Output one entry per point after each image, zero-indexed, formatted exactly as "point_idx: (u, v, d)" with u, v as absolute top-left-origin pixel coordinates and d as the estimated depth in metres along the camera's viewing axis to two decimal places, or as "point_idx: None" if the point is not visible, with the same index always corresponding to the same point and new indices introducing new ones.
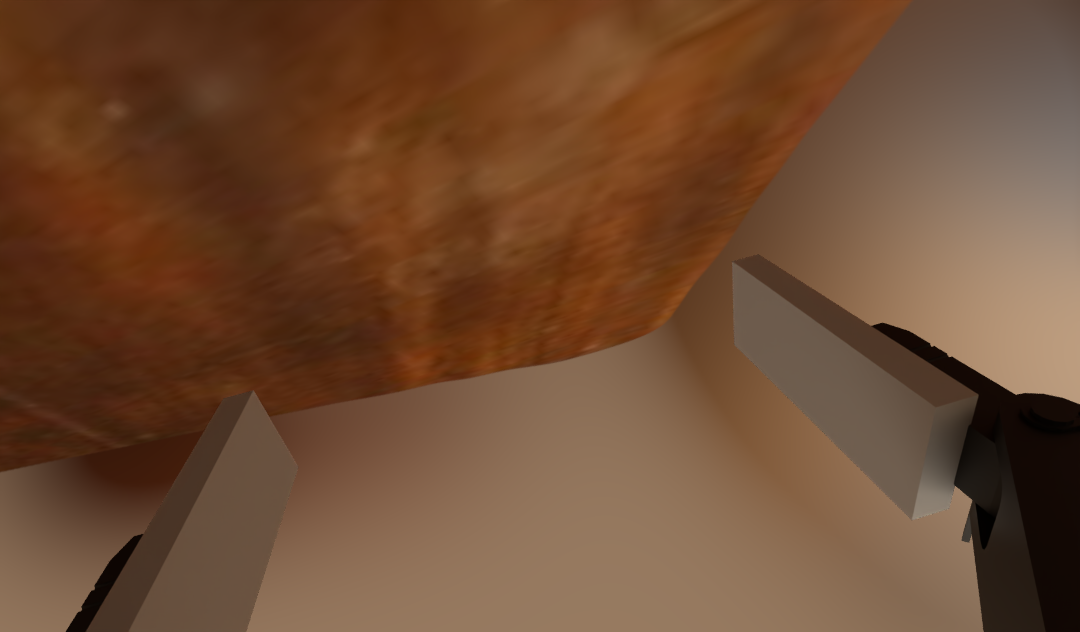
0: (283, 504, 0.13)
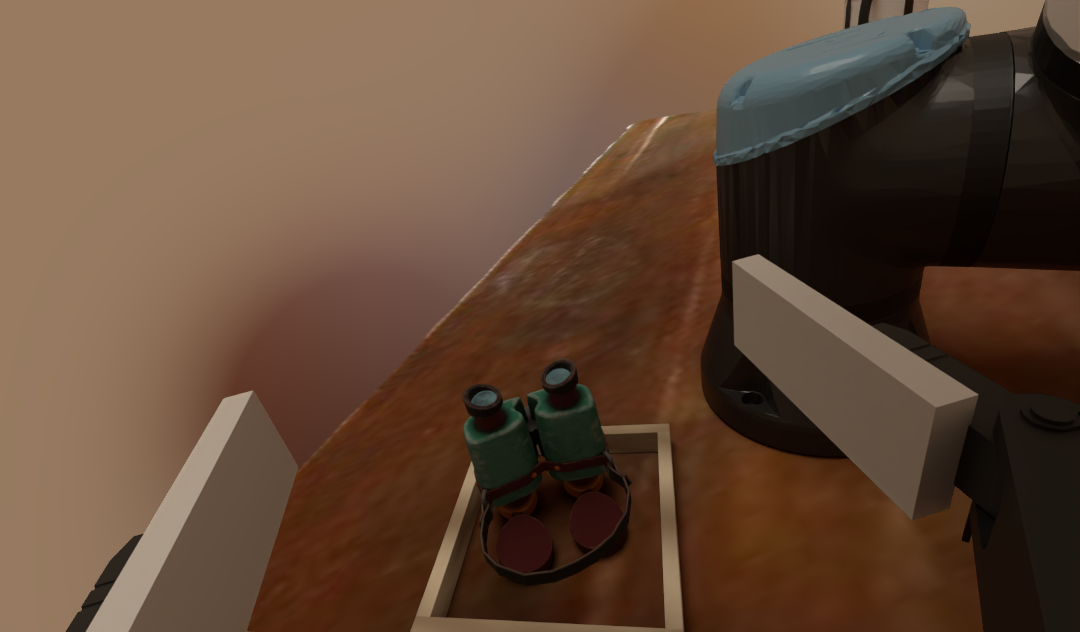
0: (283, 504, 0.13)
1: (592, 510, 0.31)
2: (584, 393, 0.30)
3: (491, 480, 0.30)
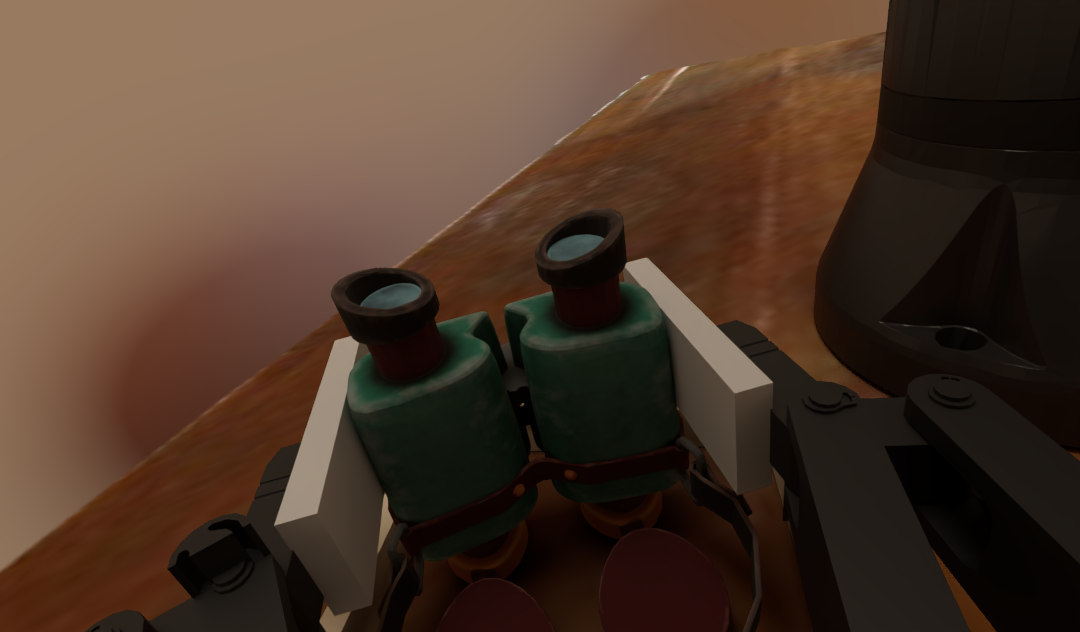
0: None
1: (651, 572, 0.14)
2: (638, 298, 0.13)
3: (416, 503, 0.13)
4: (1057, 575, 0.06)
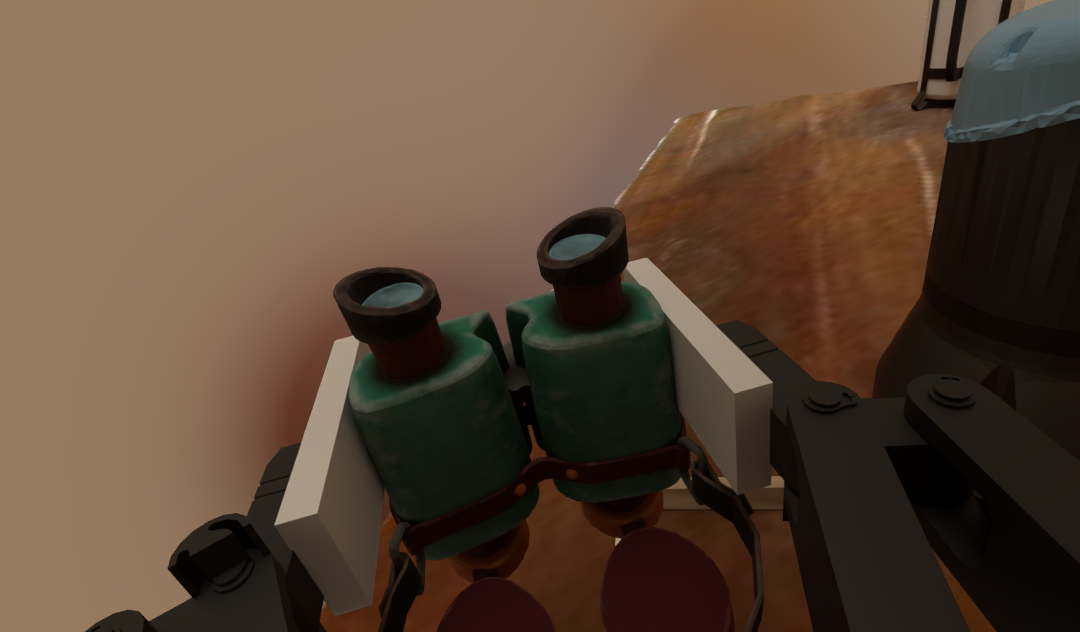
0: None
1: (652, 572, 0.14)
2: (640, 297, 0.13)
3: (418, 502, 0.13)
4: (1057, 575, 0.06)
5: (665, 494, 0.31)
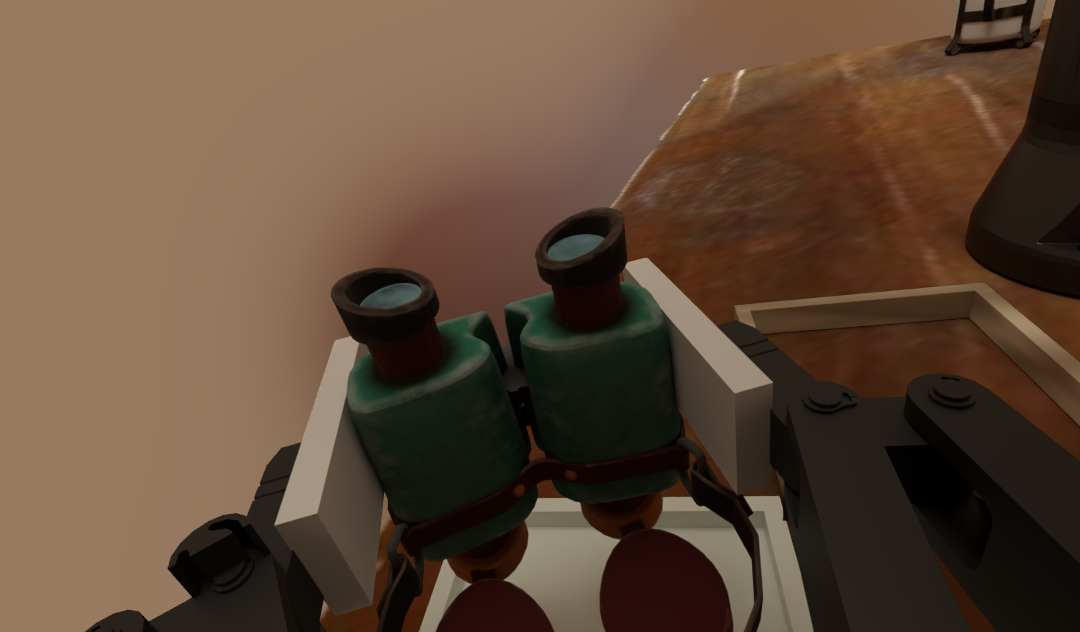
0: None
1: (651, 573, 0.14)
2: (638, 298, 0.13)
3: (416, 503, 0.13)
4: (1057, 575, 0.06)
5: (783, 314, 0.32)
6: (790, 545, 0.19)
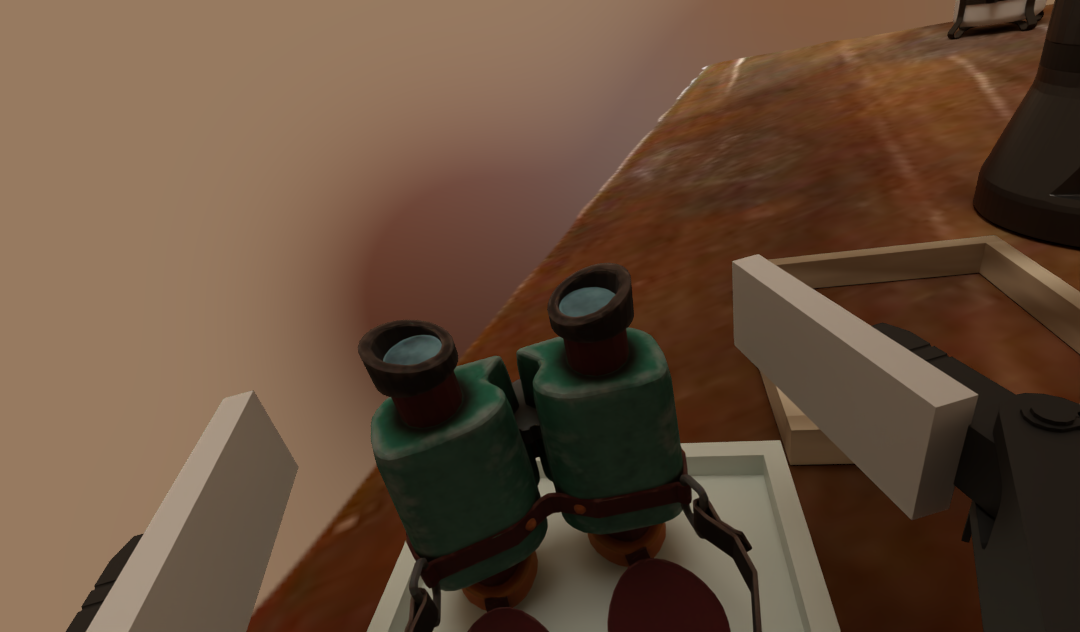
0: (283, 504, 0.13)
1: (656, 602, 0.14)
2: (644, 345, 0.14)
3: (435, 540, 0.14)
4: None
5: None
6: (792, 487, 0.17)
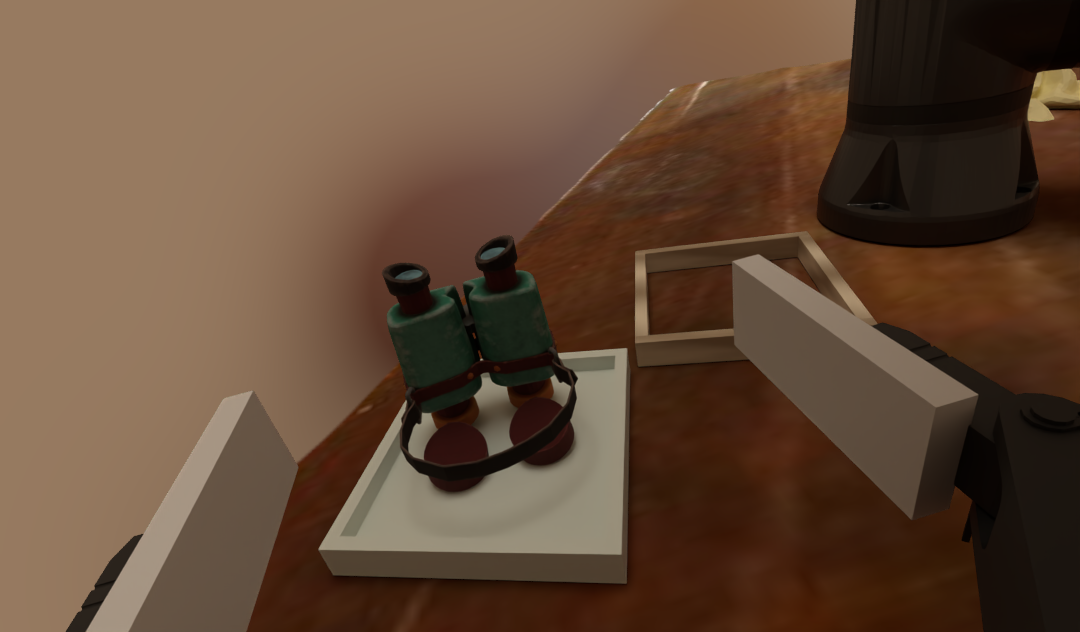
0: (283, 504, 0.13)
1: (535, 415, 0.28)
2: (526, 277, 0.27)
3: (419, 377, 0.27)
4: None
5: (668, 256, 0.44)
6: (625, 369, 0.31)
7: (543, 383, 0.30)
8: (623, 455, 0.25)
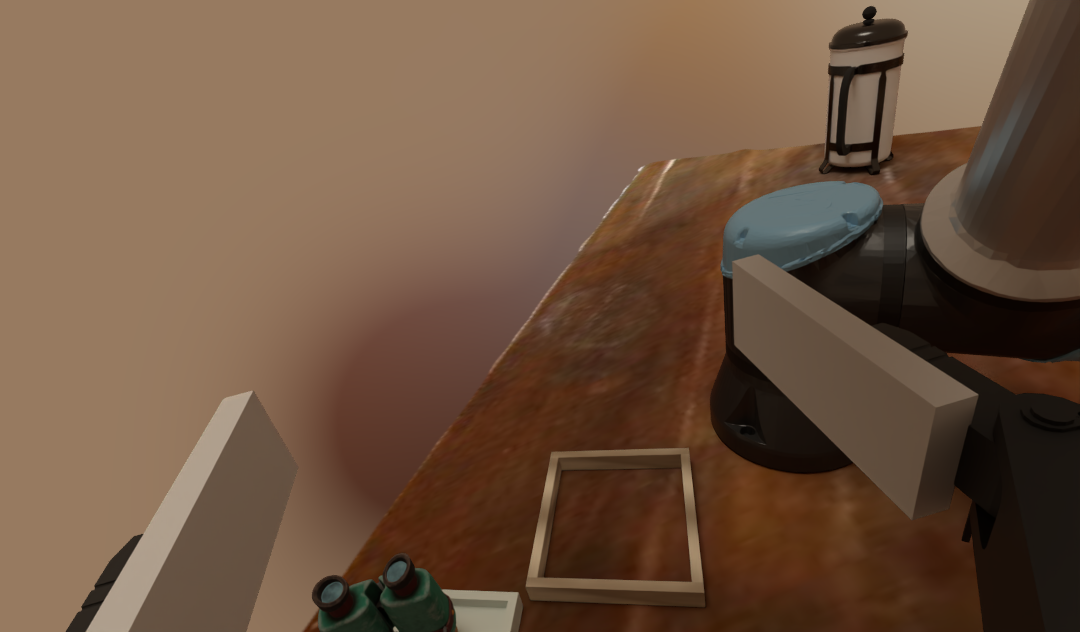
0: (283, 504, 0.13)
1: None
2: (423, 581, 0.35)
3: None
4: None
5: (577, 460, 0.53)
6: (511, 620, 0.39)
7: None
8: None
